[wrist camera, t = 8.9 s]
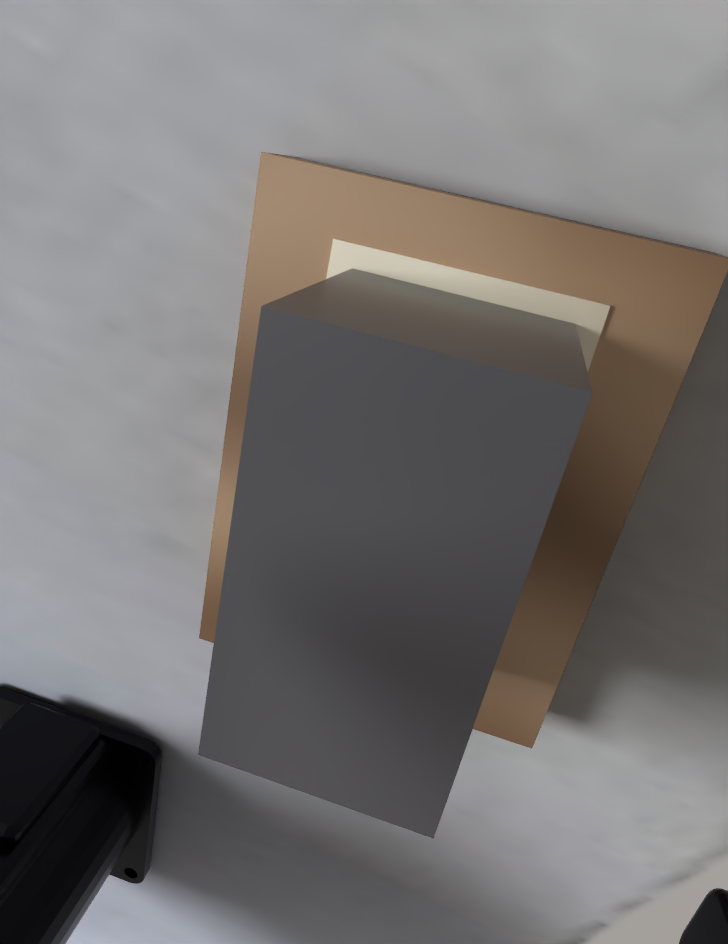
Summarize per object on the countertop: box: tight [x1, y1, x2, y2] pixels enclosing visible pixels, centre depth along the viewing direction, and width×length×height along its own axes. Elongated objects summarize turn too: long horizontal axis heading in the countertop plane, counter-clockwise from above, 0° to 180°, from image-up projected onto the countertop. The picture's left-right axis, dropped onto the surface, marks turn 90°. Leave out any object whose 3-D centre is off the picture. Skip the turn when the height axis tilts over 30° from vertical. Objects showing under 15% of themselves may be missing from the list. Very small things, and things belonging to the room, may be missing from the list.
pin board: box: [199, 152, 728, 748], centre depth 16 cm, size 12×9×2 cm
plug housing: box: [198, 268, 593, 838], centre depth 13 cm, size 8×4×5 cm, turn 168°
